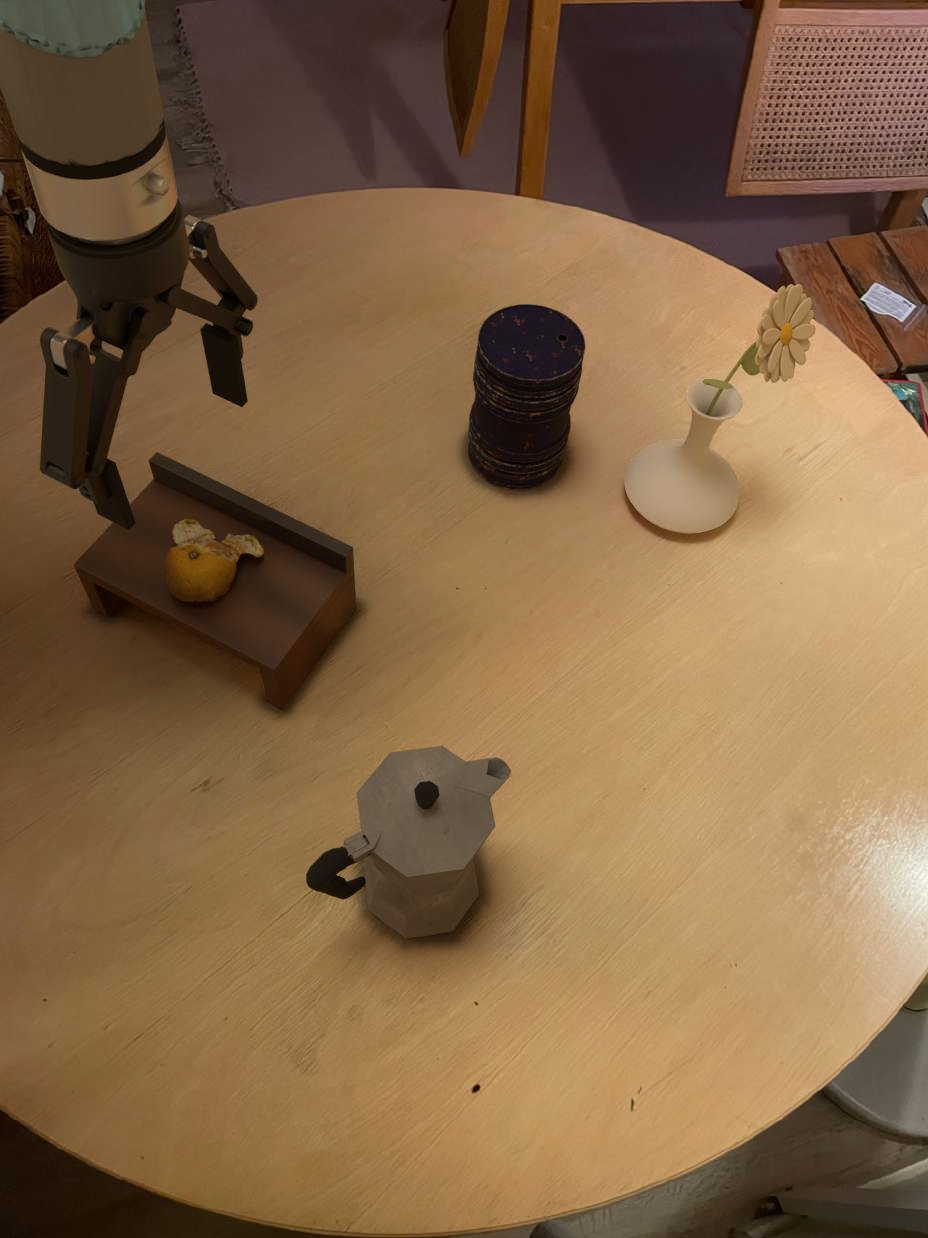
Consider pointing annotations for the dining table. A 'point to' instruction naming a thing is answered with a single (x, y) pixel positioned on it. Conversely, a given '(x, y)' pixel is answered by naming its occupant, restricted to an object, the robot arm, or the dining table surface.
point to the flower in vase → (689, 469)
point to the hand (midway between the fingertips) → (176, 455)
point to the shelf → (261, 589)
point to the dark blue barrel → (523, 395)
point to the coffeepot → (417, 839)
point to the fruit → (204, 561)
